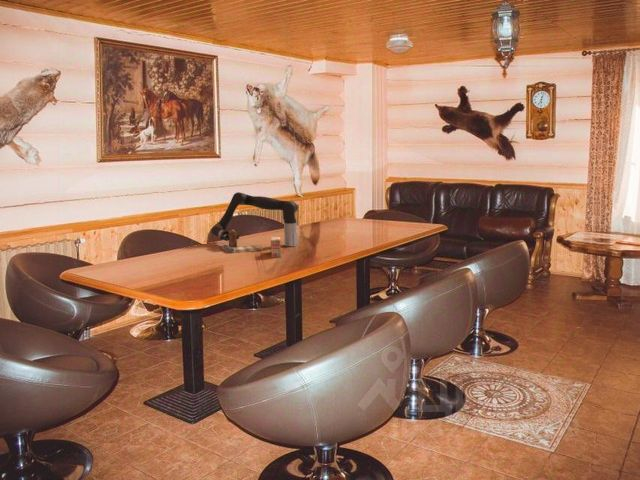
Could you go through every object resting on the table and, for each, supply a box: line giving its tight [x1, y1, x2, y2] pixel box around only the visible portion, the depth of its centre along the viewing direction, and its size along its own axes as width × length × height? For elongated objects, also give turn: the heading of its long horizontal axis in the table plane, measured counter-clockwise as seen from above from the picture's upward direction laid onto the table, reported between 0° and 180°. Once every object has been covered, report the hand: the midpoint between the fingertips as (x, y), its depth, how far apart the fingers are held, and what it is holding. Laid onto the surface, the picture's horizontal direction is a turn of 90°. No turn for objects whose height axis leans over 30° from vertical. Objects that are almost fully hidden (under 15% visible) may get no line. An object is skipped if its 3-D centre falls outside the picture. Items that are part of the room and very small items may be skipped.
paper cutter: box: [221, 244, 264, 254], centre depth 443 cm, size 25×17×3 cm
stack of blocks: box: [270, 236, 282, 258], centre depth 425 cm, size 21×6×12 cm, turn 6°
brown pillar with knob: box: [228, 229, 238, 248], centre depth 444 cm, size 4×4×14 cm
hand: (232, 238), depth 444 cm, fingers open, 8 cm apart
